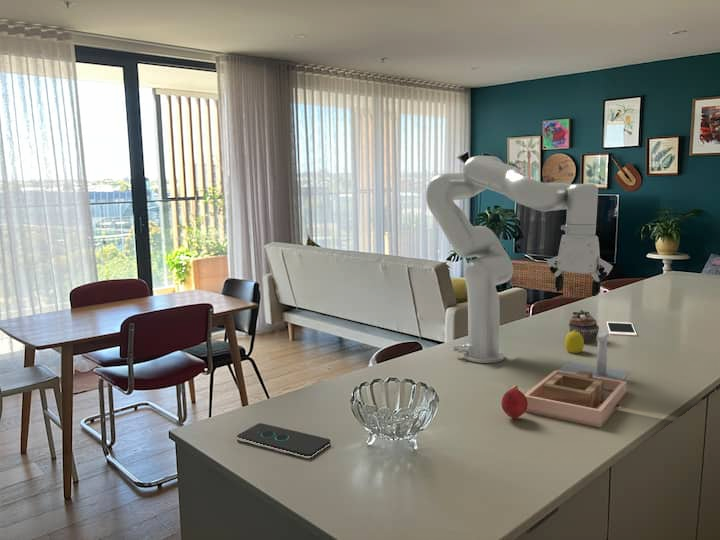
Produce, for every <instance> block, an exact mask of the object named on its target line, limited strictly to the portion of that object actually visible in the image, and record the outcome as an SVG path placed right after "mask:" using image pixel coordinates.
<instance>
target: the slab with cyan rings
mask: <svg viewBox="0 0 720 540" xmlns="http://www.w3.org/2000/svg"><path fill="white" fill-rule="evenodd" d="M236 437H239V438H242V439H246V440H249V441H253V442H256V443H260V444H263V445H267V446H271V447H274V448H278V449H282V450H286V451H290V452H293V453H297V454H300V455H304V456H312V455H313V454H315V453H316V452H317V451H319V450H321V449H322V448H324V447H325V446H326V445H328V444H330V445H331V440H330V439H329V438H325V437H322V436H318V435H313V434H310V433H304V432H302V431H301V432H300V431H296V430H292V429H288V428H283V427H278V426H274V425H272V424H271V425H270V424H267V423H266V424H265V423H261V422H260V423H257V424H255V425H253V426H251V427H249V428H247V429H246V430H244V431H242V432H240V433H239V434H237V435H236Z"/></svg>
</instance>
